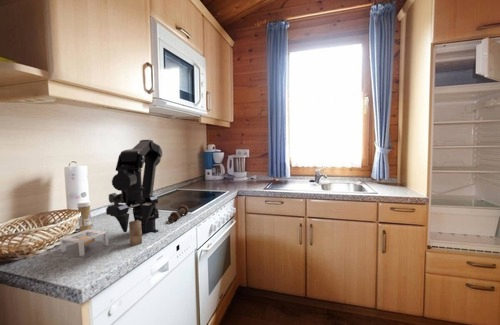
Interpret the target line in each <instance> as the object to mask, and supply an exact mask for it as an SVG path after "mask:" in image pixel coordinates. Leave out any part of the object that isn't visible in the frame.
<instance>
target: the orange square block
mask: <svg viewBox="0 0 500 325" xmlns="http://www.w3.org/2000/svg"><path fill="white" fill-rule="evenodd" d="M87 237H90V236H86V235H85V236H82V237H79V238H78V239H85V238H87ZM93 241H96V238H94V239H91V240H89V241H86V242H84V245H86V244H88V243H91V242H93ZM76 244H79V243H76Z"/></svg>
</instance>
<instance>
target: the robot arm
mask: <svg viewBox="0 0 500 325" xmlns="http://www.w3.org/2000/svg"><path fill="white" fill-rule="evenodd" d="M162 157H163V150H162V147H161V146H160V145H159V144H156V143H155V142H154V141H153V140H151V139H141V140H139V142H138V143H137V144H136V145H135V146H134V147H132V148H129V149H125V150H122V151H121V152H120V154H119V155H118V159H117V162H116V166H115V171H116V172H117V173H116V174H114V176H113V177H112V179H111V184H112V186H113V188H114V189H116V190H117V191H120V192H121V193H118V194H117V193H116V192H113V193H110V194H108V202H109V203H110V205H108V206H107V207H106V209H105V210H106V211H105V212H106V213H105V214H106V215H108V216H110V217H114V218H115V219H116V220H117V222H118V223H119V225H120V228H121V229H122V232H123V233H127V232H128V227H129V222H130V221H129V219H130V213H128V212H129V210H130V209H132V215H133V221H135V220H140V221H141V230H142V235H146V234H150V233H152V234H156V233H158V232H159V229H156V220H157V219H160V216H159V215H160V213H159V212H160V211H159V209H158V207H157V204H158V203H159V198H158V197H157V195H153V193H154V186H155V176H156V169H157V168H156V167H157V166H158V165H159V163H161V160H162ZM143 167H144V168H143ZM142 169H143V170H142ZM142 171H143V176H142Z"/></svg>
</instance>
